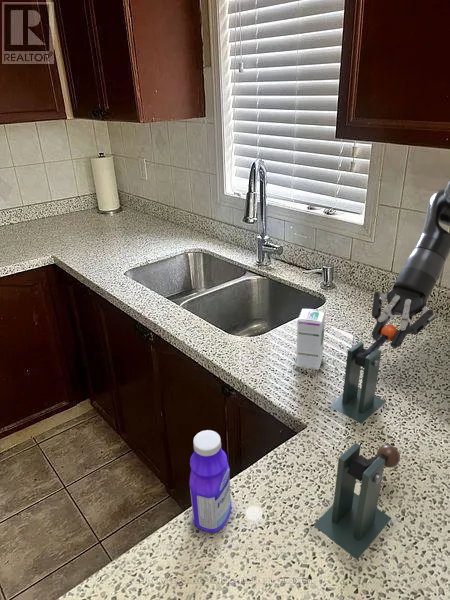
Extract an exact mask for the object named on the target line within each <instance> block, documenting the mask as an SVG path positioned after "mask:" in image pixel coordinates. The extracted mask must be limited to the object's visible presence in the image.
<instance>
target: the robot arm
mask: <svg viewBox="0 0 450 600" xmlns="http://www.w3.org/2000/svg"><path fill="white" fill-rule="evenodd" d="M441 224H443V225H445V226H447V227H450V180H449V181H448V182H447V185H446V187H445V188H442V189H439V190H437V191H435V192H434V193H433V194H432V195H431V196H430V198H429V201H428V204H427V207H426V215H425V219H424V224H423V228H422V232H421V233H420V236H419V238H418V240H417V242H416V244H415V245H414V248H413V250H411V253H410V254H409V255H408V257H407V258H406V260H405V263H404V264H403V266H402V268H401V270H400V272H399V274H398V276H397V277H396V279H395V281H394V283H393V285H392V288H391V289H390V290H389V291H388V292H387V293H380V292H379V291H375V292H374V294H373V300H372V308H371V309H372V310H371V316H372V318H373V319H374V320H375V321H376V324H375V326H374V328H373V329H372V331H371V337H372V340H374V341H375V342H376V341H377V340H378V339H379V338H380V337H381V329H382V328H383V327H384V326H386V325H388V323H389V322H390V321H391V320H392V319H394V317H395V316H400V317H401V322H400V327H399V329H398V330H397V332H396V334H395V336H394V338H393V340H392V341H390V344H389V345H390V347H391V348H392V349H394V350H396V349H397V348H400V347H401V346H402V343H403V342H404V340H405V338H406V336H407V335H414V336H417V335H418V334H419V333H420V332H421V331H422V330H423V329H424V328H426V327H427V326H428V325H429V324H430V323H431V322H432V321H433V320H434V319H436V317H437V316H436V314H435V312H434V310H433V309H431V308H430V309H429V308H428V306H427V301H428V300H429V298H430V296H431V294H432V292H433V290H434V288H435V286H436V284H437V282H438V281H439V279H440V277H441V274H442V272H443V270H444V267H445V264H446V262H447V259H448V257H449V256H450V232H449V231H447V229H445V228H444V227H442V226H441ZM386 301H387V306H386V307H385V308H384V309H383V311H382V308H383V304H385V302H386ZM418 314H420V317H419V318H417V319H416V320H415V321H414V322H413V320H414V316H417V315H418Z"/></svg>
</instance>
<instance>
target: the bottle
mask: <svg viewBox="0 0 450 600" xmlns="http://www.w3.org/2000/svg"><path fill="white" fill-rule="evenodd" d="M192 443H193V453H192V454H191V456H190V459H189V466H190V474H189V484H188V485H189V492H190V501H191V510H192V521H193V524H194V526H195V527H196V528H197V529H199V530H201V531H204V532H208V533H211V534H213V533H217V532H220V531H221V530H222V529H223V528H224V527H225V526H226V523H228V520H229V518H230V516H231V511H232V497H231V496H232V495H231V479H230V477H231V476H230V475H231V474H230V472H231V470H230V469H231V468H230V465H229V462H228V456H227V454H226V452H225V450H224V449H222V439H221V436H220V434H219V433H218V432H217V431H214V430H211V429H206V430H201V431H200V432H197V433H196V435H195V436H194V437H193V442H192Z"/></svg>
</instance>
